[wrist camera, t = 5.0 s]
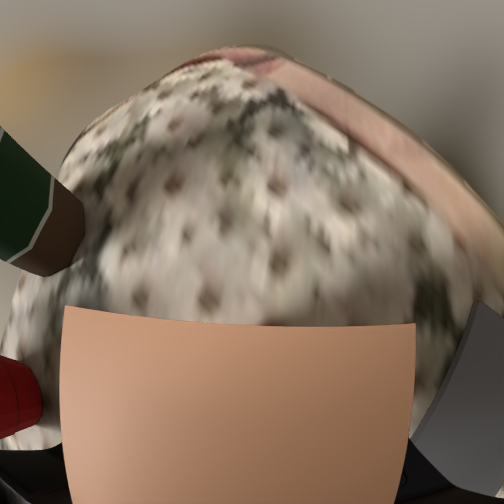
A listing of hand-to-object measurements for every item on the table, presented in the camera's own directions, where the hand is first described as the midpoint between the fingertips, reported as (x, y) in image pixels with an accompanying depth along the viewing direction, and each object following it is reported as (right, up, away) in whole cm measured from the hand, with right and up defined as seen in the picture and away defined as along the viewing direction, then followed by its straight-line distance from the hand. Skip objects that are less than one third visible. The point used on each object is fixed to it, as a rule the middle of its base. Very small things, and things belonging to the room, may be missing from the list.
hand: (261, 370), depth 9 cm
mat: (+17, -8, +2) cm, 19 cm away
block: (+1, -3, +6) cm, 7 cm away
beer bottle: (-17, +5, +11) cm, 21 cm away
